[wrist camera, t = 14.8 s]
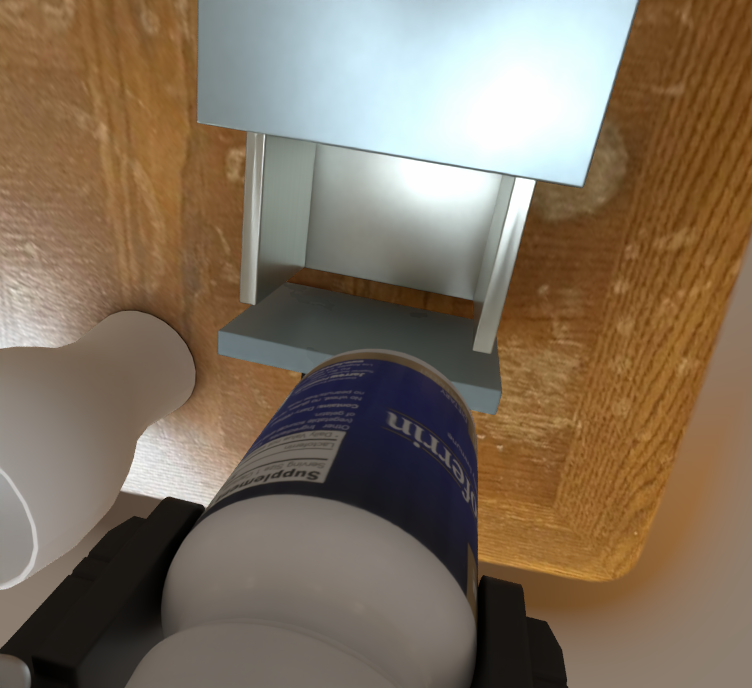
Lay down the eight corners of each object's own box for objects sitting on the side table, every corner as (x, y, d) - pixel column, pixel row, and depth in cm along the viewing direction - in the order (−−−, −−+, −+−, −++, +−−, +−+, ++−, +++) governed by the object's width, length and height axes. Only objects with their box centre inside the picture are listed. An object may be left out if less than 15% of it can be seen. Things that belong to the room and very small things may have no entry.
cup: (102, 256, 33) (-161, 345, 19) (242, 350, 34) (83, 499, 20) (54, 374, 37) (-189, 515, 24) (179, 455, 38) (14, 636, 24)
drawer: (468, 426, 32) (466, 519, 24) (274, 383, 33) (214, 457, 26) (571, 30, 23) (618, -19, 16) (305, -7, 25) (228, -69, 17)
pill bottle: (510, 473, 15) (559, 971, 6) (348, 527, 17) (204, 969, 8) (421, 307, 14) (316, 640, 5) (254, 385, 16) (-47, 730, 7)
